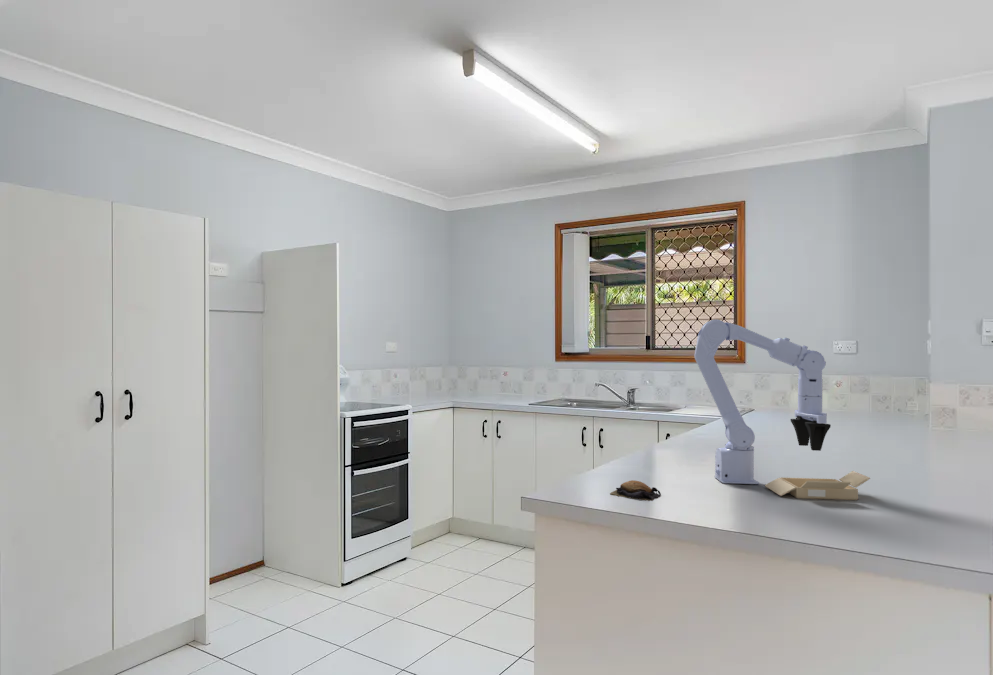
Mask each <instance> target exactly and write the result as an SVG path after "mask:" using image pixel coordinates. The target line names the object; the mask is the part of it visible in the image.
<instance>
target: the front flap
mask: <svg viewBox="0 0 993 675" xmlns="http://www.w3.org/2000/svg"><path fill="white" fill-rule="evenodd" d="M850 483H851V482H843V481H840V480H838V481H809V480H807V481H806V482H805V483H804V484H803V485H802V486H801V488H827V489H844V488H846V487H847V486H848V485H849V484H850Z"/></svg>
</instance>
